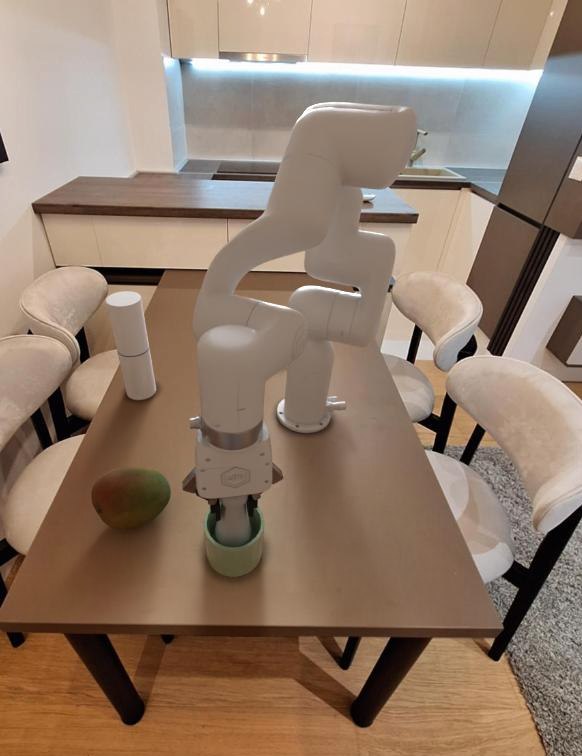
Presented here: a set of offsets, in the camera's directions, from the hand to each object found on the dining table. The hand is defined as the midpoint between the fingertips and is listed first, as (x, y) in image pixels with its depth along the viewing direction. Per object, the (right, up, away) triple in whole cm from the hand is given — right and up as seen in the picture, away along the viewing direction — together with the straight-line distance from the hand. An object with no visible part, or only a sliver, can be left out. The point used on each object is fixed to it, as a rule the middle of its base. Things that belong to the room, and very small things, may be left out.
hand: (233, 510), depth 60 cm
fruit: (-18, -4, +12) cm, 22 cm away
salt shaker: (0, -6, +5) cm, 8 cm away
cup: (0, -9, +7) cm, 11 cm away
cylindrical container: (-25, +17, +39) cm, 50 cm away
